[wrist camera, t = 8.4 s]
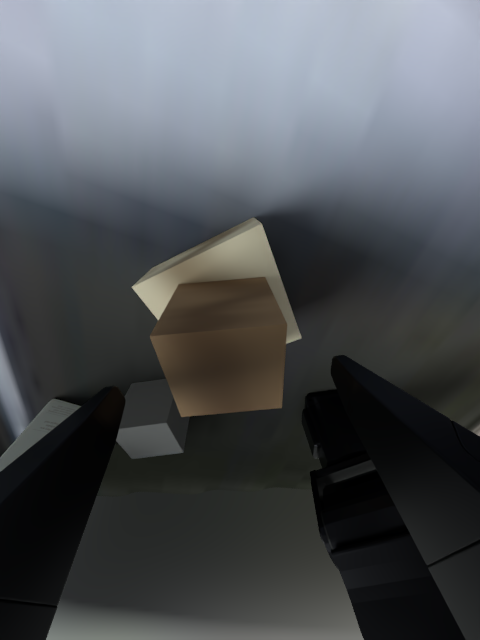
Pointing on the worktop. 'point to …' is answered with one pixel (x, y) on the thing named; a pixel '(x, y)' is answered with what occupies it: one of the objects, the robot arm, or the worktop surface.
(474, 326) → the worktop surface
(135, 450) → the gray cube
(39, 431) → the supplement box
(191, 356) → the walnut cube
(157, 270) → the birch block
